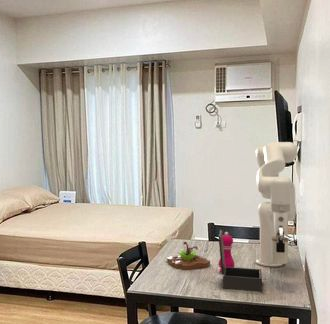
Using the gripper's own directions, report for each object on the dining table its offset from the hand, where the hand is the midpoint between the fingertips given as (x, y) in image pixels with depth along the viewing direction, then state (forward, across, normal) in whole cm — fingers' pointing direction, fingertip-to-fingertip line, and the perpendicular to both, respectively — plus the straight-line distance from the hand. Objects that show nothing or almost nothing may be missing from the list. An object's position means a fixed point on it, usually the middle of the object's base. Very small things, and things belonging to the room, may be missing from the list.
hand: (279, 249), depth 203 cm
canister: (+5, 0, 0) cm, 5 cm away
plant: (+17, +31, +42) cm, 55 cm away
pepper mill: (+17, +19, +22) cm, 34 cm away
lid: (+2, 0, +23) cm, 23 cm away
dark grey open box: (+17, 0, +15) cm, 23 cm away
